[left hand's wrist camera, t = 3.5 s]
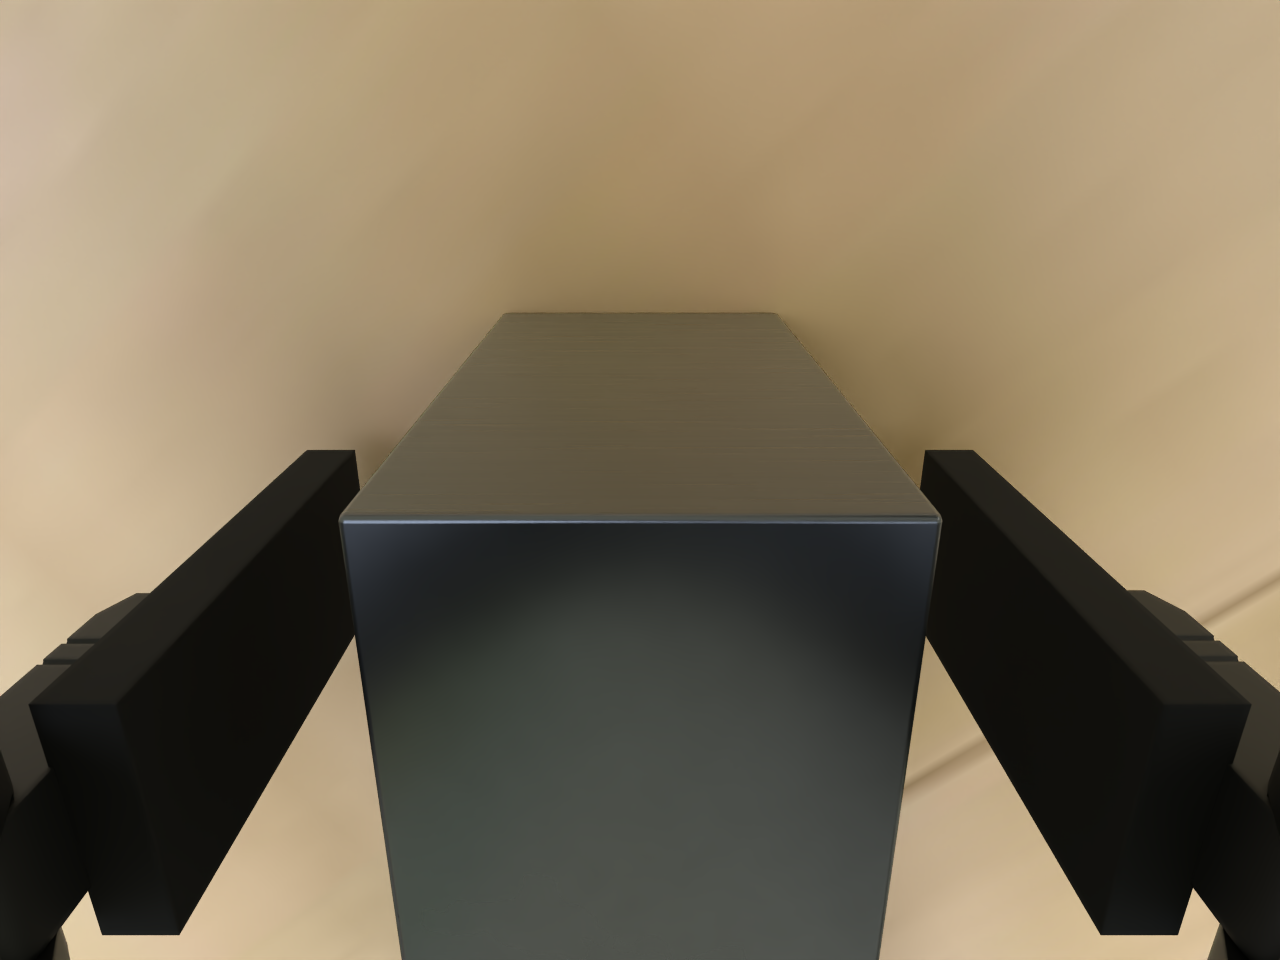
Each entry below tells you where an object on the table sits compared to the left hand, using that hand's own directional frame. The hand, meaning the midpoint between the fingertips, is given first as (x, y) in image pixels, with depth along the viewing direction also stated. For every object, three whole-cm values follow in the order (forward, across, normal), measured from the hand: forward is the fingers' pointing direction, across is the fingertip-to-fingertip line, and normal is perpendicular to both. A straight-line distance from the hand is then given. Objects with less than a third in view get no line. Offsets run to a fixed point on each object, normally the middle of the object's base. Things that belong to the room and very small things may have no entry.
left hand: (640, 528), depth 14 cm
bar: (+1, 0, -10) cm, 10 cm away
